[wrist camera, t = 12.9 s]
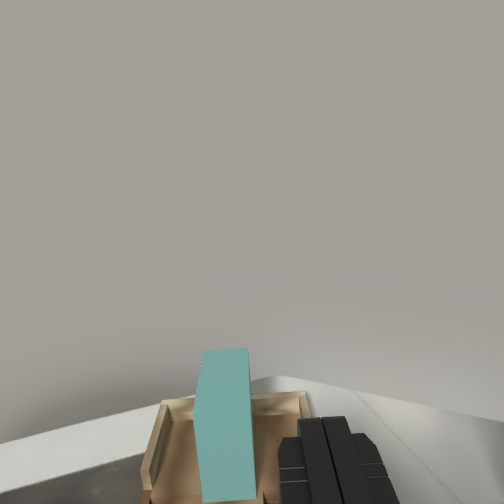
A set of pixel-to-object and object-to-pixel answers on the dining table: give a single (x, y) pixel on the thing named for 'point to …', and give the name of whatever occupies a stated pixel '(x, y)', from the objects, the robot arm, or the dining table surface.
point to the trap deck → (185, 452)
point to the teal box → (225, 426)
